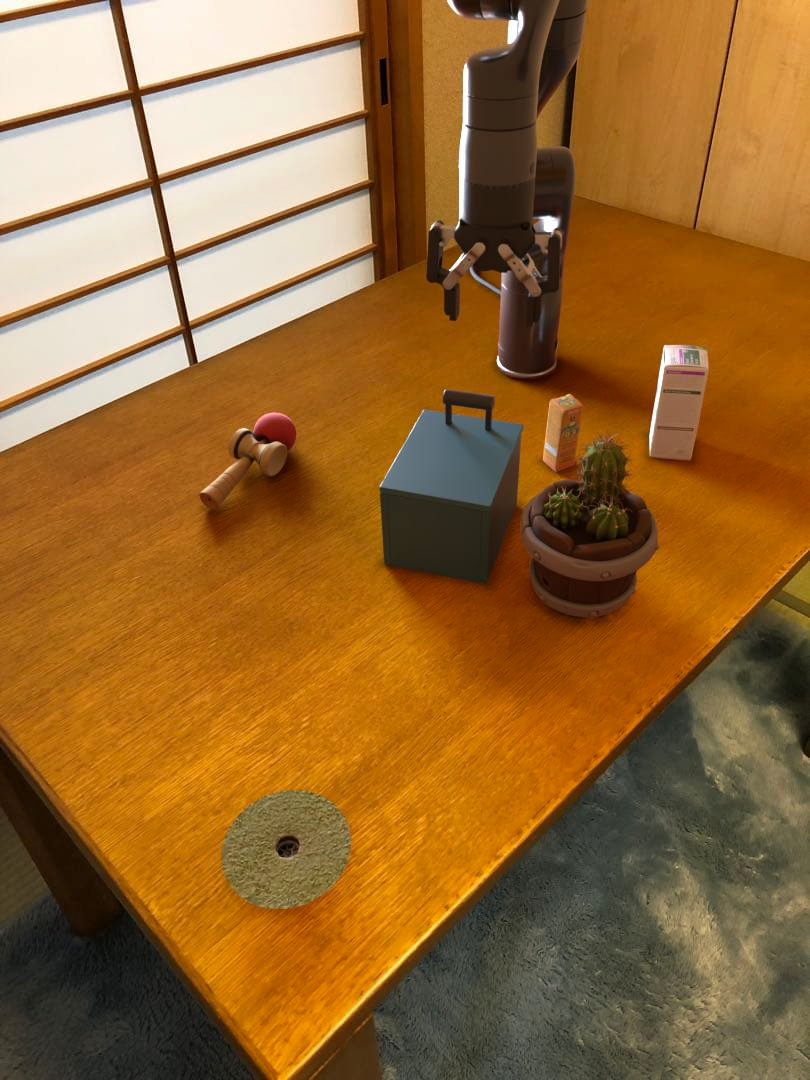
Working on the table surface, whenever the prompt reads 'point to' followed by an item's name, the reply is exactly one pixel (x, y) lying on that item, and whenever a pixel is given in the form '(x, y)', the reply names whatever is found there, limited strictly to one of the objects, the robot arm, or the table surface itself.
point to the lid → (455, 455)
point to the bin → (448, 532)
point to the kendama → (253, 454)
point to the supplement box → (562, 432)
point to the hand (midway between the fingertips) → (491, 321)
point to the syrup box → (678, 401)
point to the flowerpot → (589, 536)
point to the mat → (286, 849)
